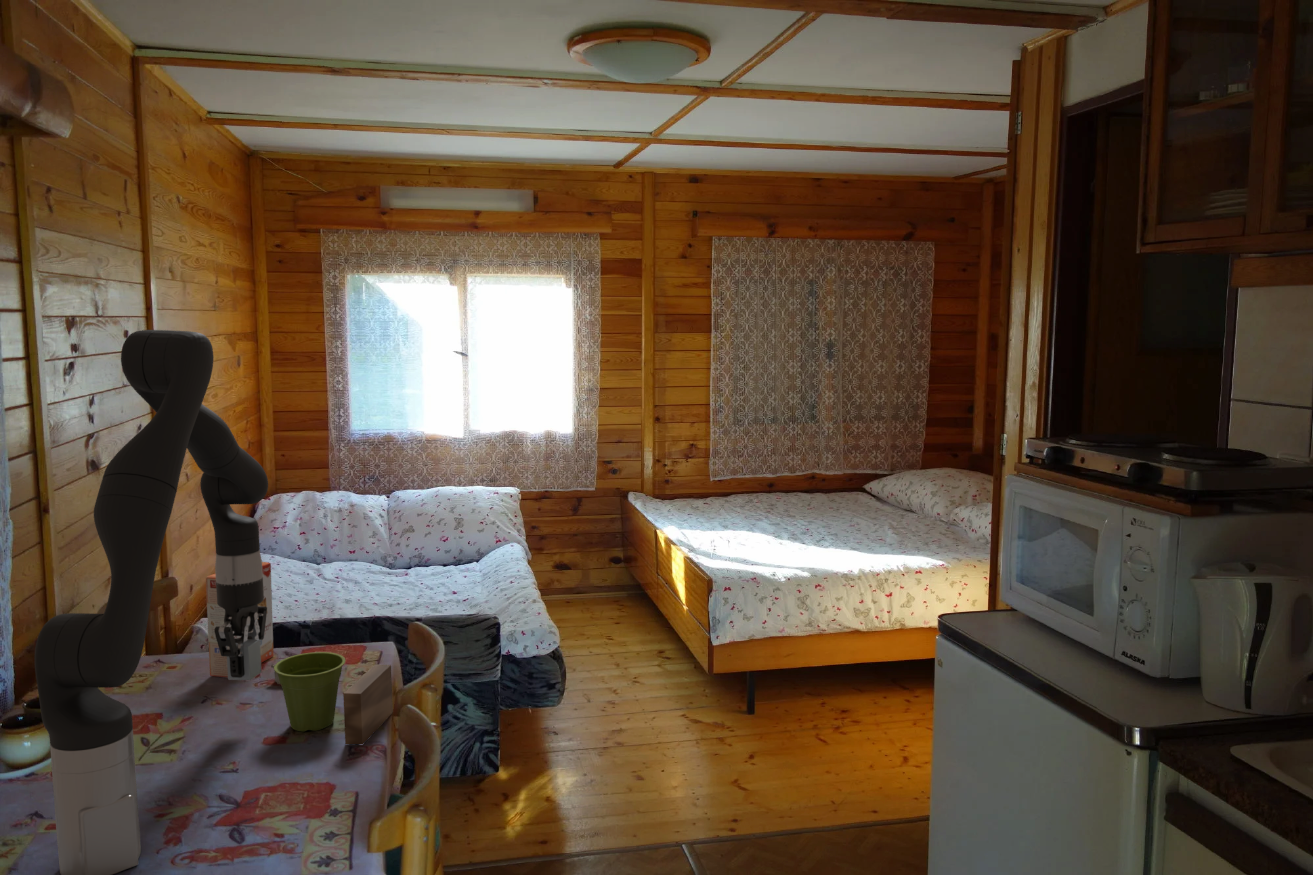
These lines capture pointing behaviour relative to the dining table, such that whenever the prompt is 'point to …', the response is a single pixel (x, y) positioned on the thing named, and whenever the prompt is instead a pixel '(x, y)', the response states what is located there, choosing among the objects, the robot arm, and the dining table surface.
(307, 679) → the plant pot
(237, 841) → the dining table surface
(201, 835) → the dining table surface
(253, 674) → the grey upright block
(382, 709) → the rail
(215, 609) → the cracker box
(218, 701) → the dining table surface
